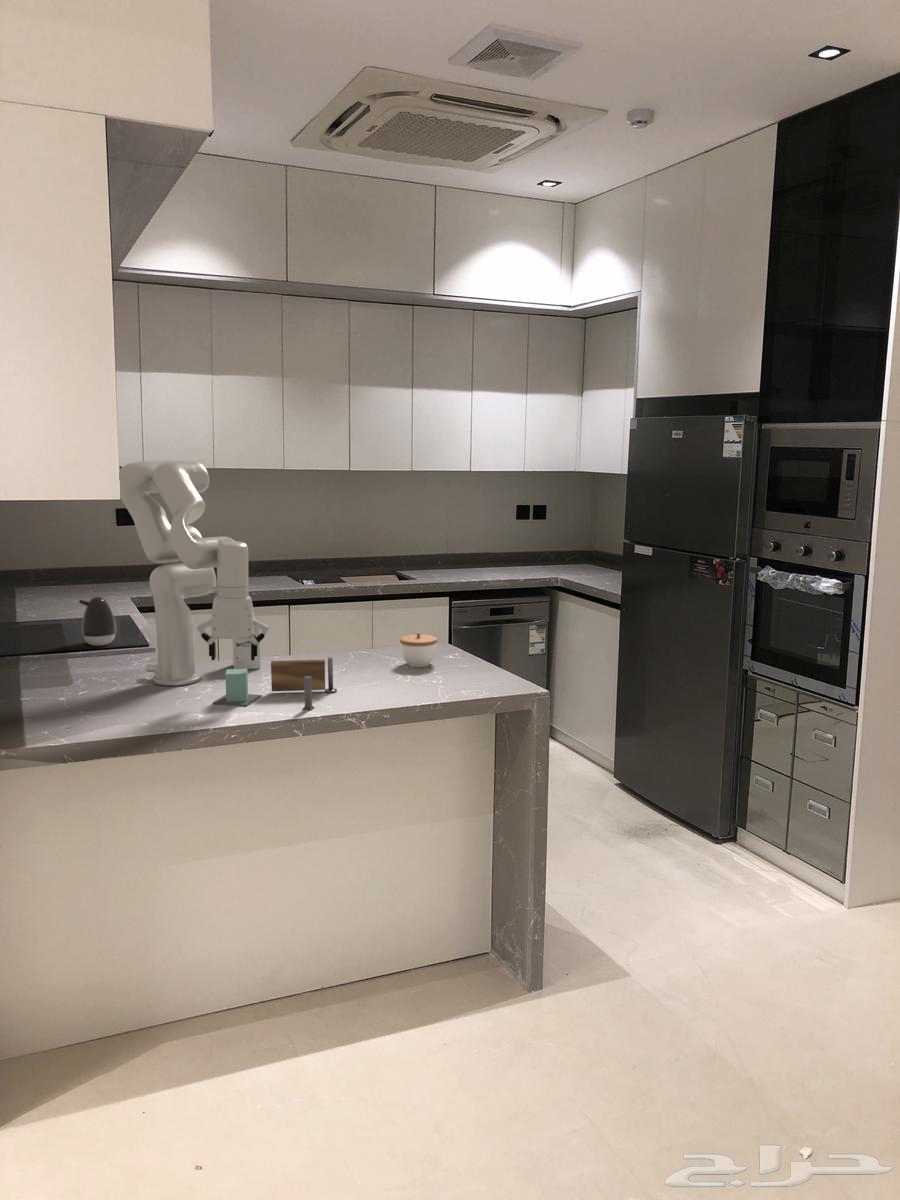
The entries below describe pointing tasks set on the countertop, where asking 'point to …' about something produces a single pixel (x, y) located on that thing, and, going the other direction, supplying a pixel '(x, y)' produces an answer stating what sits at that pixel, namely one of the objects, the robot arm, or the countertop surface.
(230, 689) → the block
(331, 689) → the gate post
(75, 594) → the countertop surface
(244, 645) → the supplement box
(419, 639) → the lidded jar
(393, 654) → the countertop surface
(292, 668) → the gate
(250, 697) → the mat
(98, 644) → the pump dispenser
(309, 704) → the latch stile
